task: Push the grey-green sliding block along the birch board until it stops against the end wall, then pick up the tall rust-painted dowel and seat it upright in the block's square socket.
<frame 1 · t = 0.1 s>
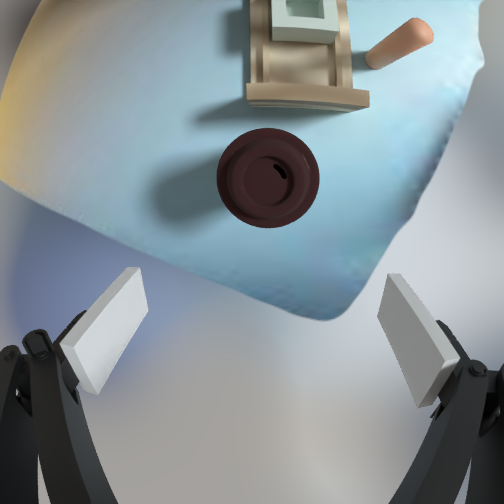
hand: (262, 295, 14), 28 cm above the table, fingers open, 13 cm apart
block: (302, 11, 25), point 4 cm above the table, slide at 0.0 cm
coffee cup: (269, 165, 39), on the table
dowel: (374, 60, 30), on the table
board: (300, 39, 30), on the table
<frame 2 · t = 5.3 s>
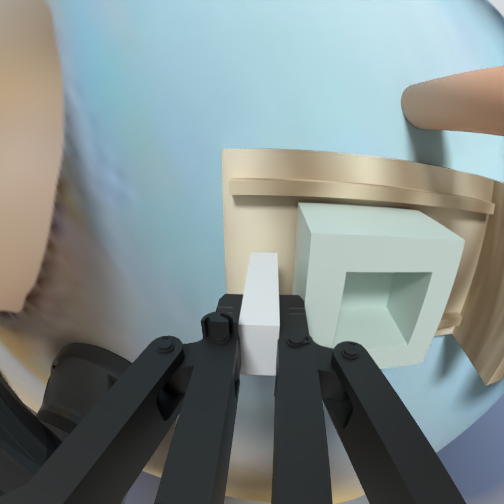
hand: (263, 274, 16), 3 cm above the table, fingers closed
block: (366, 286, 15), point 4 cm above the table, slide at 0.4 cm, touching gripper
dowel: (420, 106, 14), on the table
board: (381, 256, 19), on the table
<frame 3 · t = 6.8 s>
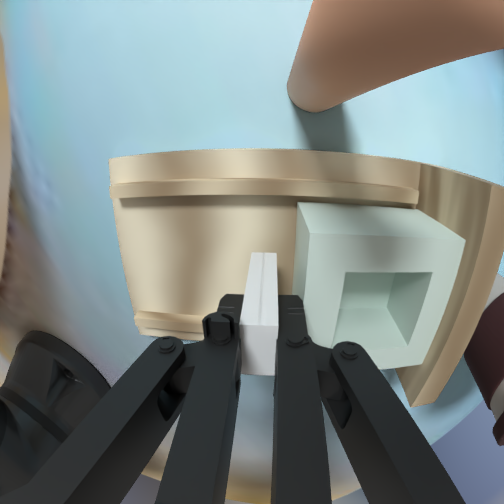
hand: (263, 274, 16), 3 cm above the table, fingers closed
block: (366, 286, 15), point 4 cm above the table, slide at 8.0 cm, touching board, gripper
coffee cup: (474, 302, 20), on the table
dowel: (313, 88, 15), on the table
board: (277, 254, 19), on the table
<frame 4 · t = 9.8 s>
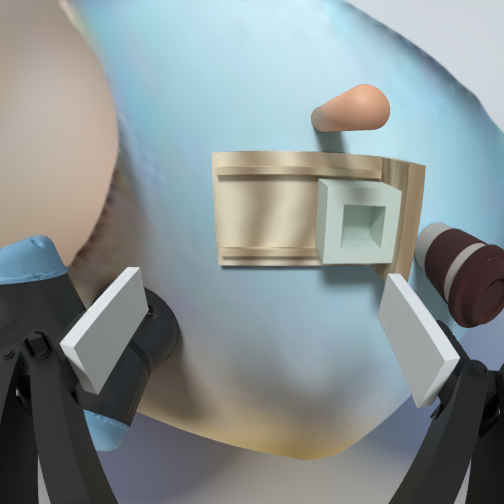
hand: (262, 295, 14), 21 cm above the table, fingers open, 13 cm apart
block: (355, 219, 29), point 4 cm above the table, slide at 8.0 cm
coffee cup: (432, 244, 34), on the table
dowel: (324, 119, 29), on the table
board: (306, 208, 33), on the table
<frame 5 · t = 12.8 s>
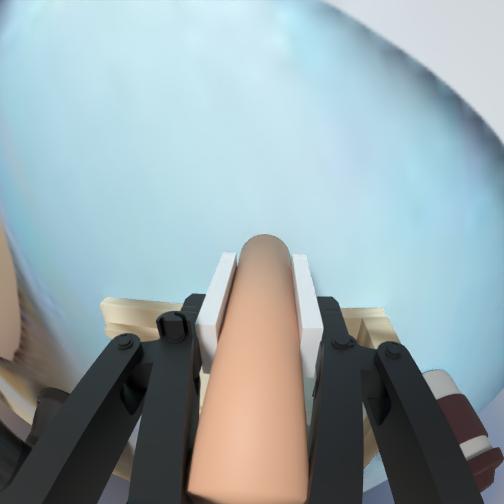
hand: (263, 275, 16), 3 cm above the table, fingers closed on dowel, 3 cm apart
block: (299, 411, 19), point 4 cm above the table, slide at 8.0 cm
coffee cup: (420, 389, 24), on the table
dowel: (265, 257, 18), on the table, touching gripper
board: (239, 371, 23), on the table
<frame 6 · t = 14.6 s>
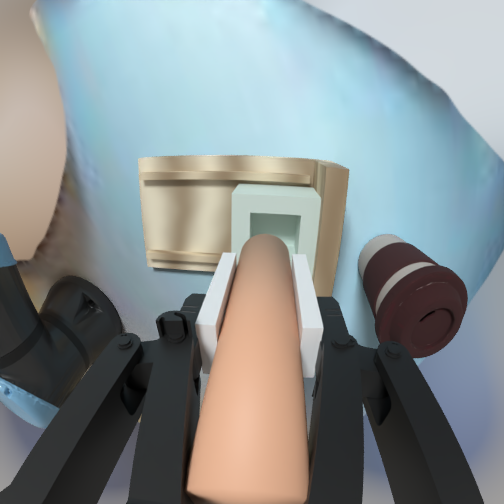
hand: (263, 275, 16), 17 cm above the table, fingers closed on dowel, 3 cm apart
block: (274, 228, 29), point 4 cm above the table, slide at 8.0 cm
coffee cup: (382, 258, 34), on the table
dowel: (264, 256, 18), point 15 cm above the table, touching gripper
board: (231, 214, 33), on the table
when the fingers open (9 cm above the table, at t = 16.6 s): dowel drops 3 cm, resting on block.
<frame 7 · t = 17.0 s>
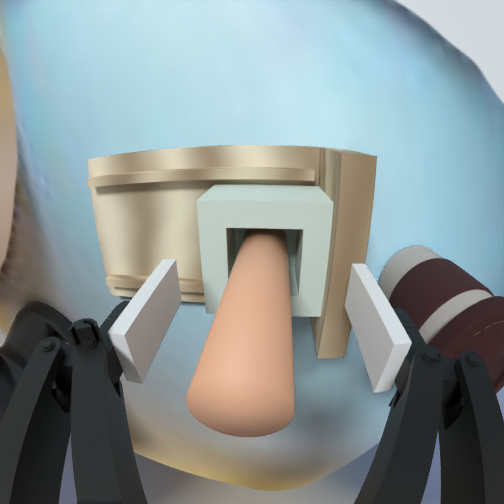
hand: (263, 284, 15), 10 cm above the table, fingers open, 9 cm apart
block: (265, 246, 20), point 4 cm above the table, slide at 8.0 cm, touching dowel
coffee cup: (408, 276, 25), on the table
dowel: (265, 241, 21), point 3 cm above the table, touching block
board: (208, 227, 24), on the table
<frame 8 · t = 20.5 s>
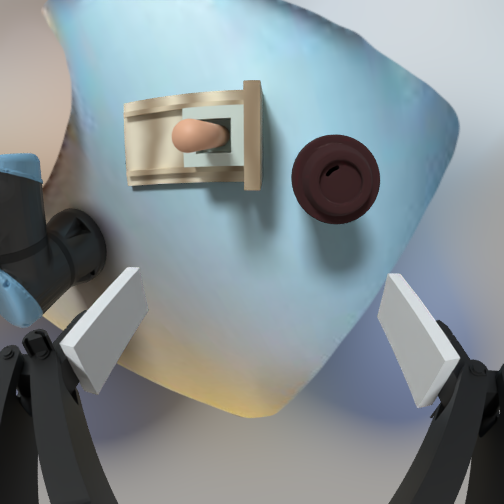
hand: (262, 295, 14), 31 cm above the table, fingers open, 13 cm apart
block: (217, 135, 36), point 4 cm above the table, slide at 8.0 cm, touching dowel
coffee cup: (318, 166, 41), on the table
dowel: (218, 135, 37), point 3 cm above the table, touching block
board: (190, 137, 40), on the table
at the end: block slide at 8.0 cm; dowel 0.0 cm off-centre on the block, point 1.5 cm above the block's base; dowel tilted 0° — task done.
